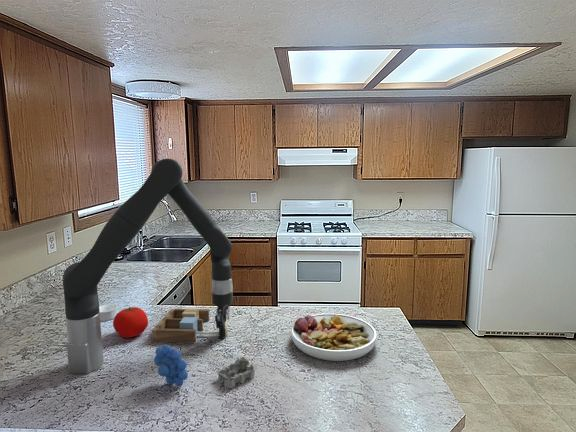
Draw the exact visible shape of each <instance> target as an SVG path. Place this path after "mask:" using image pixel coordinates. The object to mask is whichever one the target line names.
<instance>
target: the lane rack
mask: <svg viewBox="0 0 576 432" xmlns="http://www.w3.org/2000/svg"><path fill="white" fill-rule="evenodd" d="M185 309H186V308H171V309H170V310H169V311H168V312H166V314H165V315H164V317H162V318H161V320H160V321H158V323H157V324H156V325H155V326H154V327H153V328H152V329H151V338H152V339H151V341H152V343H177V344H179V343H181V344H183V343H184V344H185V343H186V344H195V343H196V342H197V334H196V329H180V321H181V320H182V313H183V312H184V311H185ZM198 309H199V319H197V329H198V332H204V322H209V321H210V309H207V308H202V309H201V308H198Z"/></svg>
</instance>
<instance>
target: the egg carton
mask: <svg viewBox="0 0 576 432" xmlns="http://www.w3.org/2000/svg"><path fill="white" fill-rule="evenodd" d="M241 369H242V370H243V372H241V373H239V372H240V370H241ZM244 370H246V371H244ZM255 370H257V368H256V366H254V365H253V363H252V364H250V362H249V361H248V359H247V358H246V357H245V356H242V357H239V358H237V359H236V360H235V361H234V362H231V363H230V364H229V365H228V366H225V367H223V368H222V369H220V370H217V371H216V375H218V377H217V378H218V382H219V383H222V382H223V383H224V387H225V388H229V387H230V388H233V387H234V388H235V386H236V384H237V383H241V384H243V383H245V379H253V378H254V377H255V376H254V375H255Z"/></svg>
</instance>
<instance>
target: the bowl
mask: <svg viewBox="0 0 576 432" xmlns="http://www.w3.org/2000/svg"><path fill="white" fill-rule="evenodd" d="M290 331H291V334H290V335H291V339H292V341H293V343H294V346H296V348H298V349H299V350H300V351H301V352H303V353H304V354H306V355H308V356H311V357H312V358H315V359H316V358H317V359H320V360H325V361H331V362H333V361H334V362H341V361H342V362H343V361H351V360H352V361H353V360H355V359H359V358H362V357H363V356H366V355H367V354H368V353H370V352H371V351H372V349H373V348H374V347H375V345H376V342H377V330H376V328H374V326H373V325H372V324H370V323H368V322H367V321H366V320H363V319H361V318H358V317H355V316H351V315H348V314H343V313H342V314H339V313H318V314H311V315H305V316H304V317H299V318H298V319H297V320H296V321H295V322H294V323H293V325H292V327H291V330H290Z"/></svg>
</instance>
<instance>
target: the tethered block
mask: <svg viewBox="0 0 576 432" xmlns="http://www.w3.org/2000/svg"><path fill="white" fill-rule="evenodd" d="M220 325H221V324H220ZM227 325H228V323H227V321H226V322H225V326H226V327H225V335H226V336H225V337H224V338H225V339H226V338H227V337H229V336H228V335H229V334H228V332H229V331H228V332H227ZM180 329H196V335H203V336H204V335H209V336H210V335H211V336H212V335H213V336H219V331H198V329H197V317H184V318H183V319H182V320H181V321H180ZM224 338H223V339H224Z"/></svg>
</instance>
